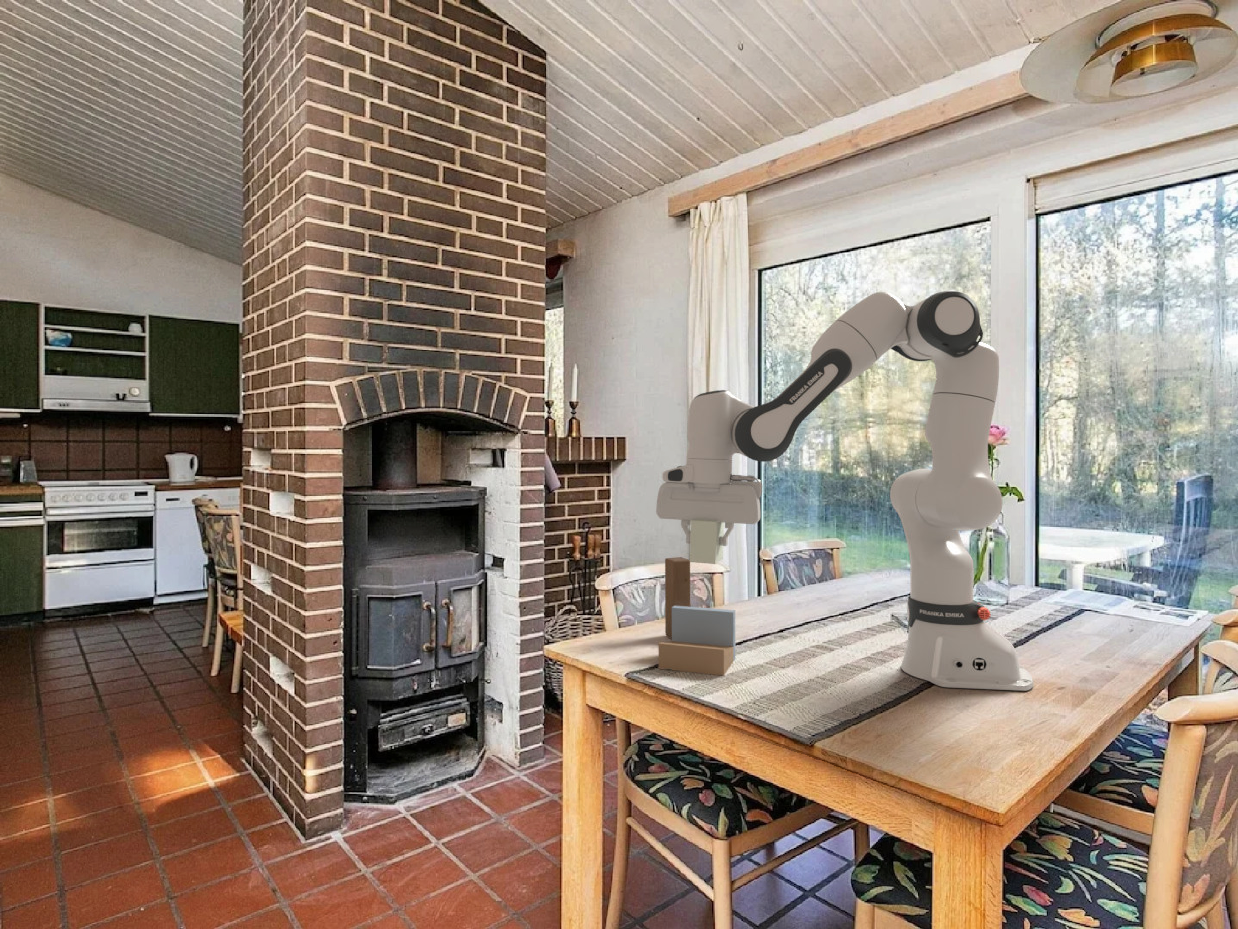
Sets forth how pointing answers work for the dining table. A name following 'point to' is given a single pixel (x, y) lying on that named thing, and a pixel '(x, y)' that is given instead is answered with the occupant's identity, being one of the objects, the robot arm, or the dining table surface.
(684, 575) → the wooden block
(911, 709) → the dining table surface
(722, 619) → the board
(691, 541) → the cabinet block
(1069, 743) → the dining table surface
